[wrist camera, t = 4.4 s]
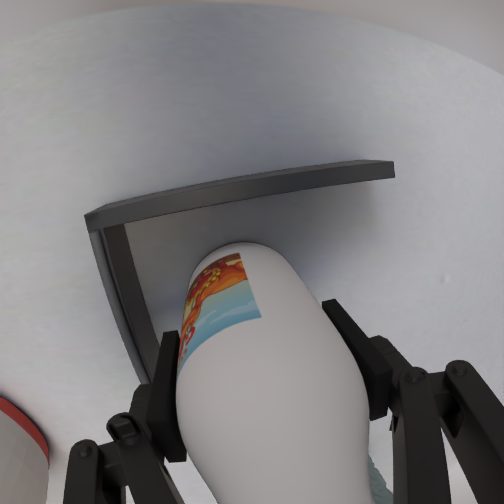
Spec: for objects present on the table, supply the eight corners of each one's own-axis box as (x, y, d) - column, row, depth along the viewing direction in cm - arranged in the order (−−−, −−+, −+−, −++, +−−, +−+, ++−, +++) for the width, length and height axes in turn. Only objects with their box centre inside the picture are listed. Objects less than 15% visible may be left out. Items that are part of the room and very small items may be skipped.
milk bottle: (276, 222, 21) (518, 488, 2) (308, 316, 24) (450, 560, 5) (169, 264, 21) (88, 598, 2) (213, 352, 24) (240, 626, 5)
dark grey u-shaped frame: (165, 394, 24) (160, 432, 20) (105, 204, 20) (79, 216, 15) (371, 350, 26) (395, 381, 21) (364, 159, 21) (399, 161, 16)
